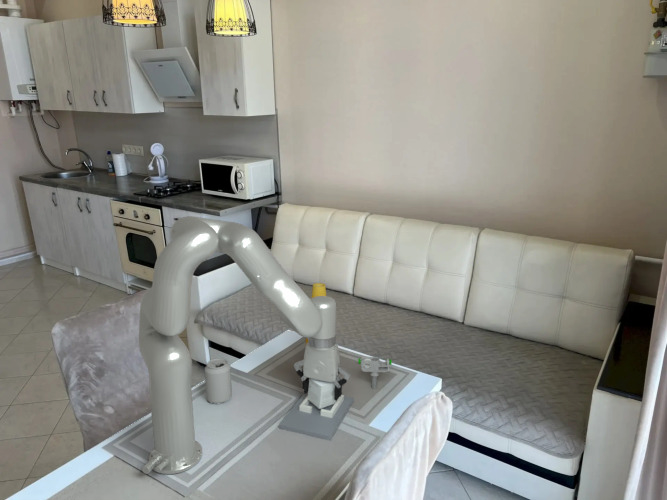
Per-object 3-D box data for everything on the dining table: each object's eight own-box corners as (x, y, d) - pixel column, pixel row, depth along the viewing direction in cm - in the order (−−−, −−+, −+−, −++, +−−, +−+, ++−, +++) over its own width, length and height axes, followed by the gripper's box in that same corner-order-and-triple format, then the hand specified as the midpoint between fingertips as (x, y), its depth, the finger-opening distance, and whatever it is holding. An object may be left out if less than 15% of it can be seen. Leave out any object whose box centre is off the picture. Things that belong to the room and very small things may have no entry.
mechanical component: (390, 390, 153) (391, 361, 150) (357, 389, 153) (358, 360, 151) (389, 385, 156) (390, 356, 153) (357, 384, 156) (358, 356, 154)
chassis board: (330, 440, 128) (330, 431, 128) (279, 428, 133) (279, 419, 133) (353, 401, 147) (354, 393, 146) (307, 392, 151) (307, 384, 151)
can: (217, 408, 142) (215, 371, 139) (201, 399, 147) (199, 363, 144) (237, 397, 148) (235, 361, 145) (220, 389, 152) (219, 354, 150)
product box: (307, 399, 142) (308, 376, 141) (323, 393, 146) (325, 371, 144) (319, 409, 138) (321, 386, 136) (336, 403, 141) (338, 380, 140)
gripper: (288, 340, 137) (289, 395, 141) (347, 350, 131) (346, 407, 135) (299, 330, 143) (299, 383, 148) (355, 339, 138) (354, 394, 142)
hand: (321, 394), depth 141 cm, fingers open, 9 cm apart
